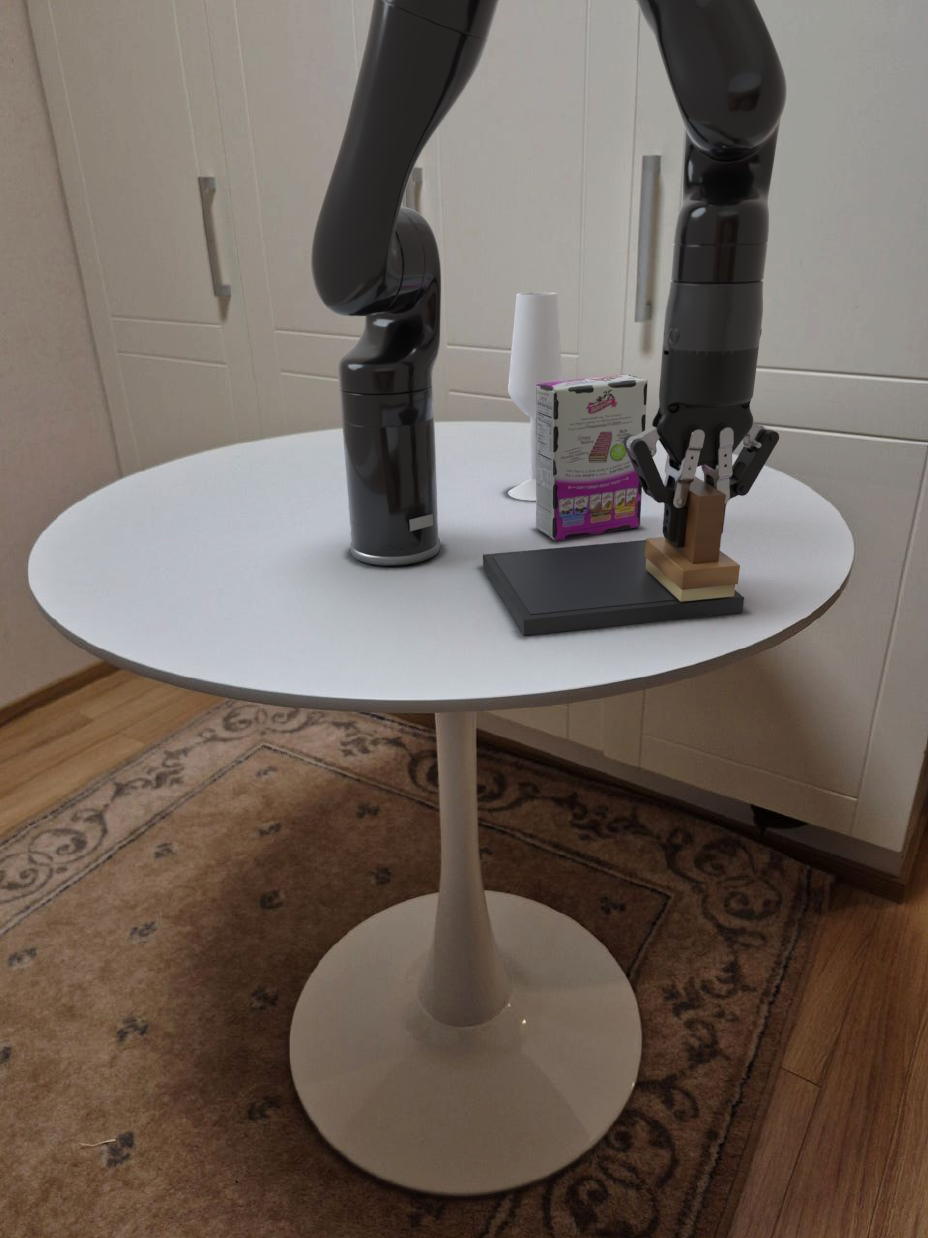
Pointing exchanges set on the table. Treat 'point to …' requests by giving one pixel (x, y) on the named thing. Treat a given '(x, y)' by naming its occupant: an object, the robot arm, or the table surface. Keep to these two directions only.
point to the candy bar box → (587, 455)
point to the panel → (590, 589)
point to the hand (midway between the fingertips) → (691, 542)
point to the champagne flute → (533, 365)
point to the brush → (696, 551)
